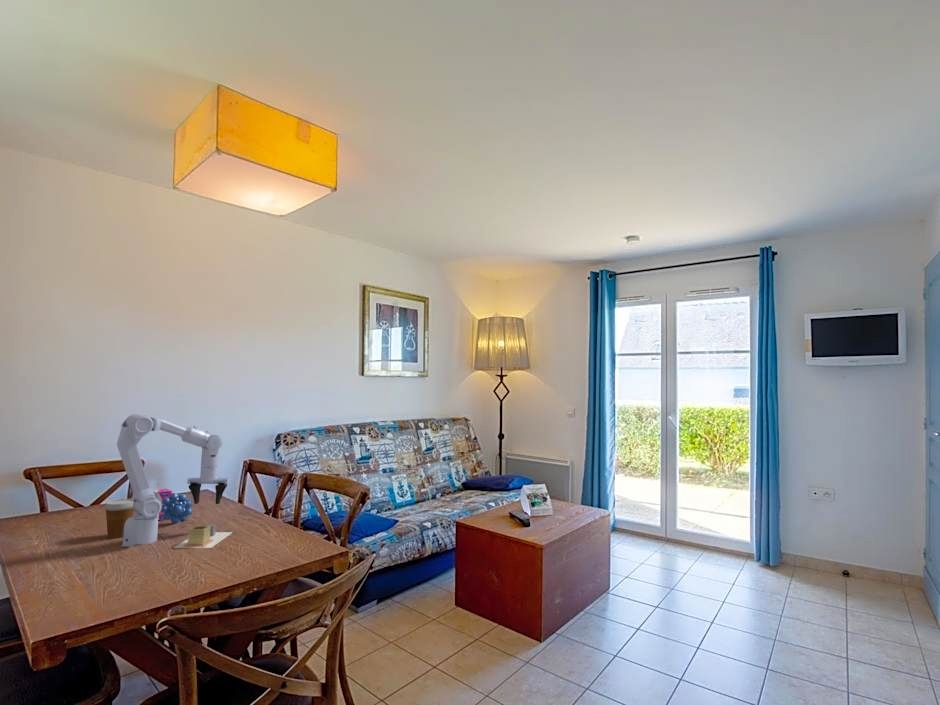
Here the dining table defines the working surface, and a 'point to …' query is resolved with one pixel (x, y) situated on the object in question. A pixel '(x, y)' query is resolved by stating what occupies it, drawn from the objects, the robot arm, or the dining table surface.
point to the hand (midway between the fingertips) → (207, 503)
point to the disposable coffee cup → (118, 516)
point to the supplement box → (160, 495)
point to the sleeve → (199, 535)
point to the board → (214, 539)
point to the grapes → (176, 507)
